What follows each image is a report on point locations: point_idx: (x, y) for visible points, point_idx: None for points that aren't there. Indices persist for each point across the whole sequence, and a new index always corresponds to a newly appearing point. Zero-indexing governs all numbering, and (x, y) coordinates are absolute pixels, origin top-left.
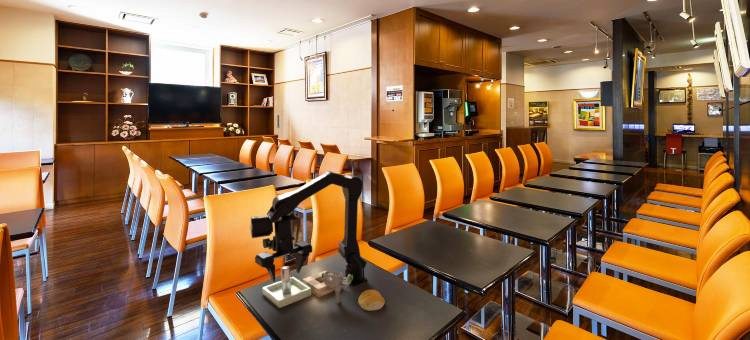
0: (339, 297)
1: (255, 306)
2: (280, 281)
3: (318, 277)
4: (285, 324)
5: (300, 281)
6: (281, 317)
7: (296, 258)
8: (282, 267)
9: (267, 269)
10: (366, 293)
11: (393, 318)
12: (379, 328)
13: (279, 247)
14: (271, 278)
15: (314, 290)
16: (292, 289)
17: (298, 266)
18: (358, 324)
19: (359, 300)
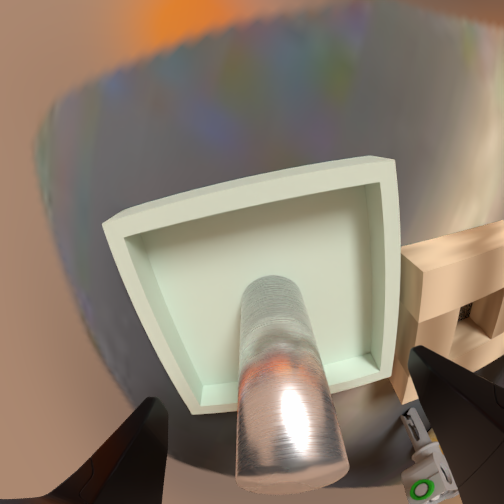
0: (413, 431)
1: (89, 319)
2: (265, 189)
3: (482, 297)
4: (202, 450)
5: (399, 276)
6: (195, 427)
7: (497, 443)
8: (266, 469)
9: (77, 488)
10: None
11: None
12: (381, 480)
13: None
14: (135, 419)
15: (398, 366)
16: (320, 281)
17: (438, 419)
18: (364, 475)
19: (433, 440)
